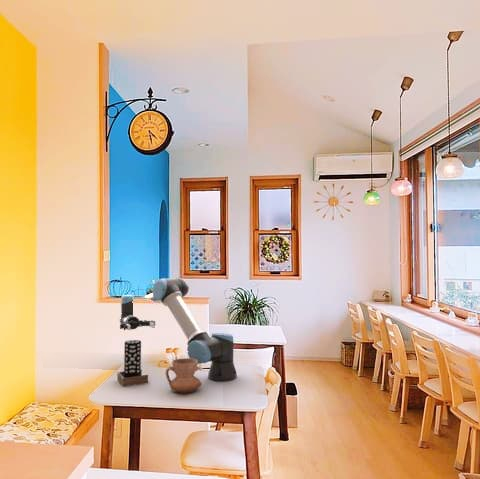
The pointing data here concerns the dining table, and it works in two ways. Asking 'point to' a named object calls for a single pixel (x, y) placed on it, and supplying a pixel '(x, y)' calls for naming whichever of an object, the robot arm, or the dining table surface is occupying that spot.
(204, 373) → the dining table surface
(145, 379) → the tray
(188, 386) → the ceramic jug
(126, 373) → the white-spotted black cylinder
